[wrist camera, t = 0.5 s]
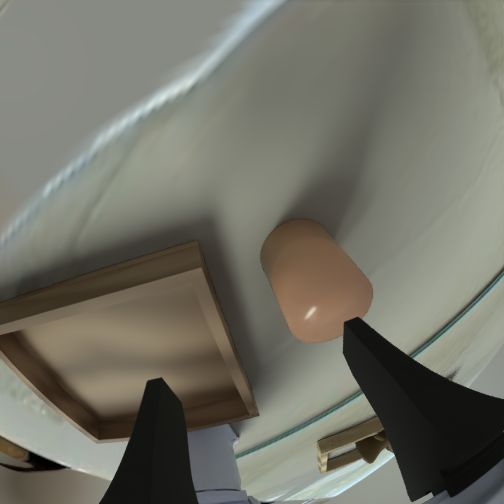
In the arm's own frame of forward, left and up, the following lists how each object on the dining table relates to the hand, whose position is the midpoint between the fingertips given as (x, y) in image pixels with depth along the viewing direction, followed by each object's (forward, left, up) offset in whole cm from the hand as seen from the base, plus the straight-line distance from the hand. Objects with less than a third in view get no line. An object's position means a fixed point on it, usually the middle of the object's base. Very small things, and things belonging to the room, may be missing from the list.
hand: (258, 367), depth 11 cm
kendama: (-48, -19, -10) cm, 52 cm away
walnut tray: (-8, +10, -10) cm, 16 cm away
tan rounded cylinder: (-2, -5, -10) cm, 11 cm away
